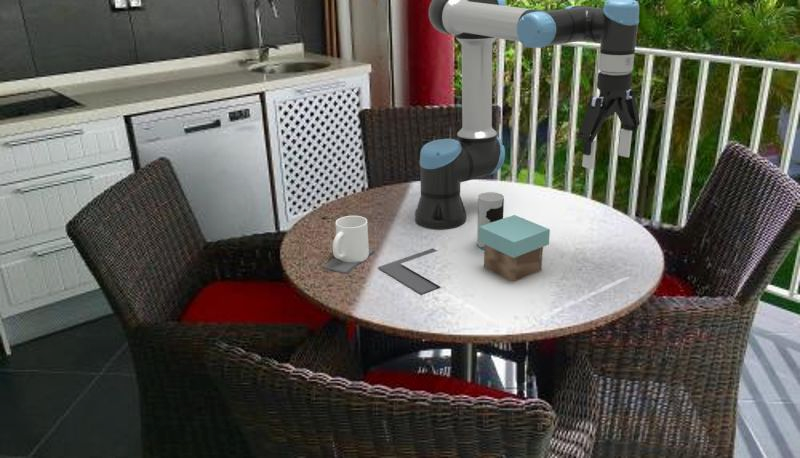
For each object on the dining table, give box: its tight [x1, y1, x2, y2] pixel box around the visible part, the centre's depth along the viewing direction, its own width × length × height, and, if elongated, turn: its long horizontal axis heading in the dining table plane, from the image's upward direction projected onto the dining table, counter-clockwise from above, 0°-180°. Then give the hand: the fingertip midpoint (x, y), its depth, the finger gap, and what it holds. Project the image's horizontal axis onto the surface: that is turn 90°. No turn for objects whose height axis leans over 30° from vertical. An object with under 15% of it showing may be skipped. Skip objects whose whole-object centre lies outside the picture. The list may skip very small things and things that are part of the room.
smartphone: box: [322, 247, 375, 275], centre depth 179 cm, size 8×1×15 cm
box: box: [483, 245, 544, 283], centre depth 169 cm, size 10×10×8 cm
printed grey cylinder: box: [476, 191, 505, 251], centre depth 180 cm, size 7×7×15 cm
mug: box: [332, 215, 370, 263], centre depth 177 cm, size 12×8×10 cm
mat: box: [377, 248, 442, 296], centre depth 172 cm, size 18×18×1 cm
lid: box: [479, 214, 551, 258], centre depth 166 cm, size 12×12×5 cm
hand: (606, 161), depth 162 cm, fingers open, 13 cm apart
